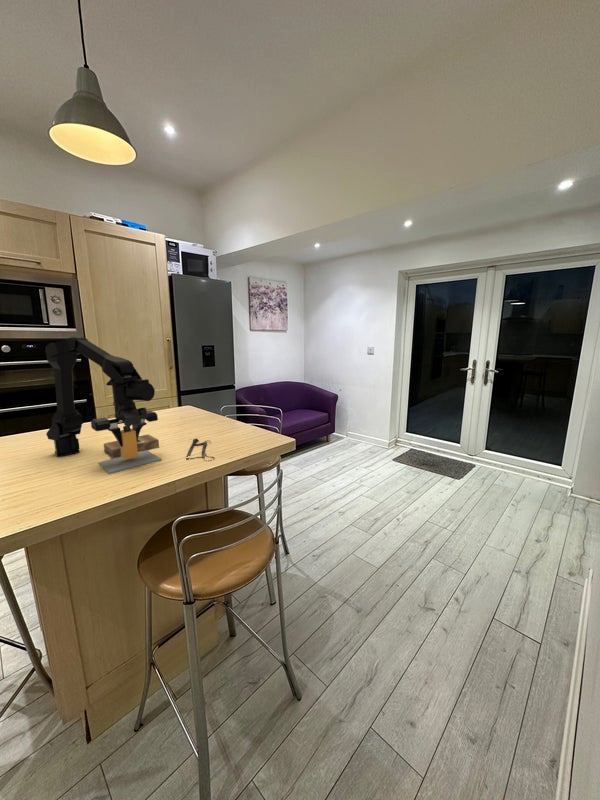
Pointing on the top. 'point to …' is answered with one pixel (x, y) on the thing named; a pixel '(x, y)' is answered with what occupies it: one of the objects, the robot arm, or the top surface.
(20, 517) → the top surface
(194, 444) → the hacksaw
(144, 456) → the mat
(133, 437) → the plug
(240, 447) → the top surface
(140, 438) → the socket block
